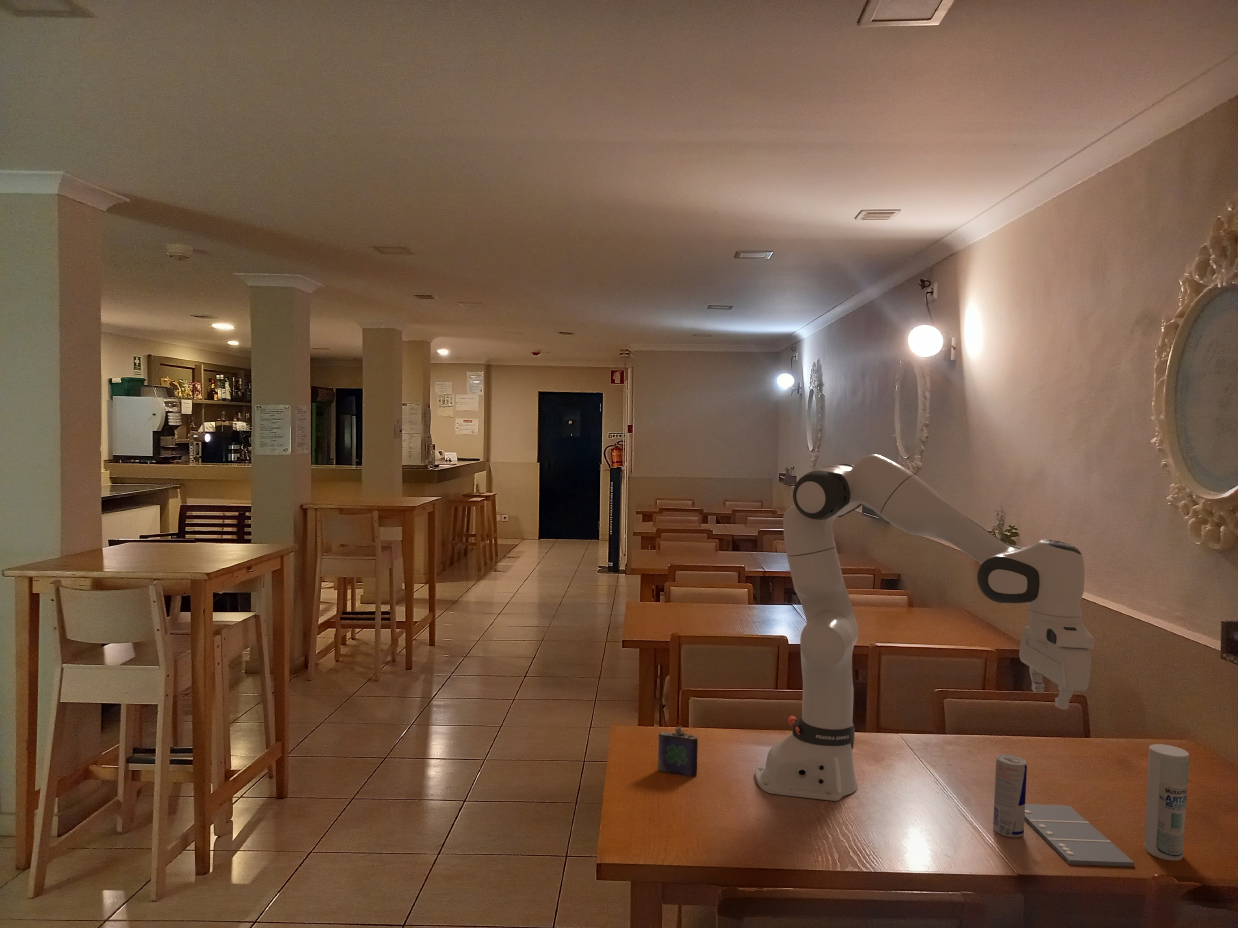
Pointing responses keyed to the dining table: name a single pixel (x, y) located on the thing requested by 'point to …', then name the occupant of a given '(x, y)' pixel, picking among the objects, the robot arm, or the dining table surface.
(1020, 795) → the beverage can
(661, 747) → the flask
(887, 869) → the dining table surface
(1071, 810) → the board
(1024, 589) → the robot arm
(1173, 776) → the spray can
